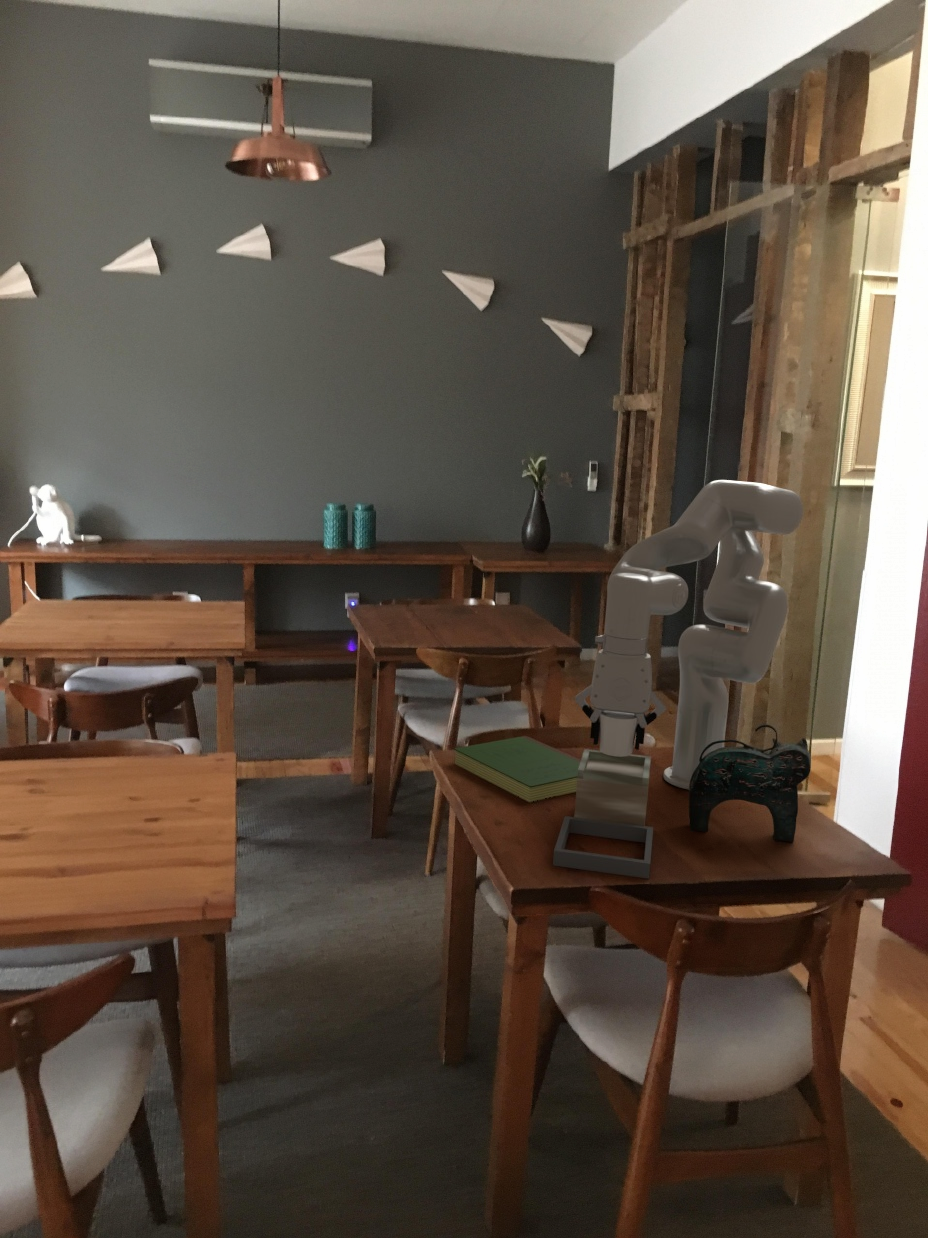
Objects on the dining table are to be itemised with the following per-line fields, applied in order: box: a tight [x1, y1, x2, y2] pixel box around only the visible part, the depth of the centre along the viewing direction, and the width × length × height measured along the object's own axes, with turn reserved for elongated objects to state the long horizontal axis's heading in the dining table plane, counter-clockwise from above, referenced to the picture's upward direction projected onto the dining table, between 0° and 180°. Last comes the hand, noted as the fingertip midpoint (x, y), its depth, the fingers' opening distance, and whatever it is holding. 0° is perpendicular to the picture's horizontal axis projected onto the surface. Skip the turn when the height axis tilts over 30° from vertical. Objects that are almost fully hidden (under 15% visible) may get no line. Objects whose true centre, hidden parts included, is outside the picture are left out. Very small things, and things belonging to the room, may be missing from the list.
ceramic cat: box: [688, 724, 812, 843], centre depth 175 cm, size 20×6×20 cm, turn 78°
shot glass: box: [599, 710, 638, 757], centre depth 177 cm, size 7×7×7 cm
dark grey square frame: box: [552, 815, 654, 880], centre depth 166 cm, size 15×15×2 cm
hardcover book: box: [453, 735, 581, 803], centre depth 201 cm, size 25×19×4 cm
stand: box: [573, 748, 652, 826], centre depth 180 cm, size 12×12×10 cm
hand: (616, 744), depth 178 cm, fingers closed on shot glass, 6 cm apart
